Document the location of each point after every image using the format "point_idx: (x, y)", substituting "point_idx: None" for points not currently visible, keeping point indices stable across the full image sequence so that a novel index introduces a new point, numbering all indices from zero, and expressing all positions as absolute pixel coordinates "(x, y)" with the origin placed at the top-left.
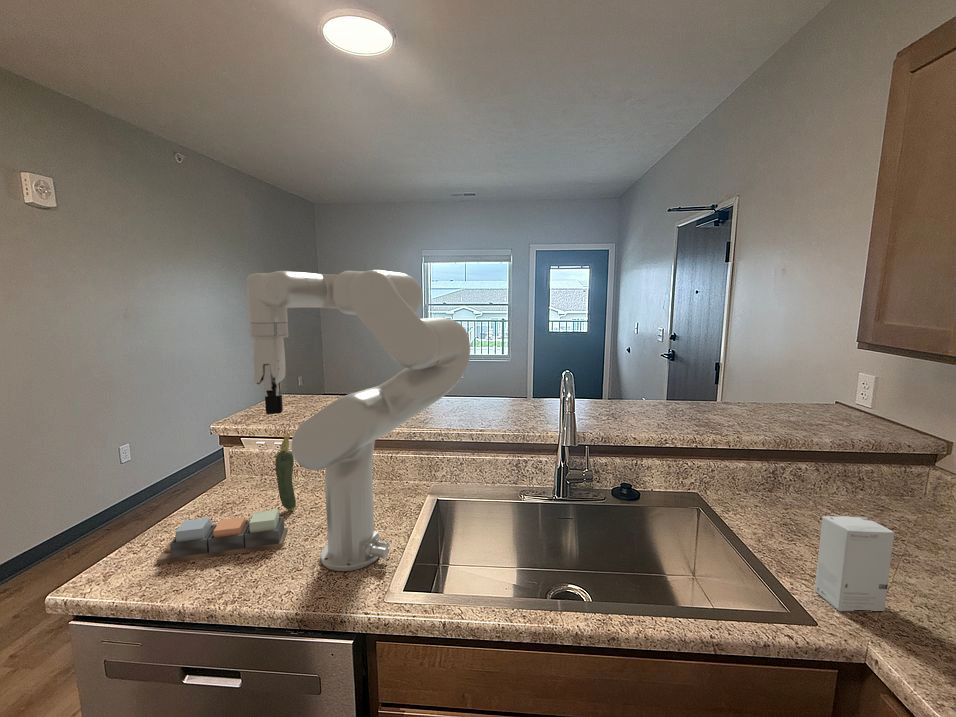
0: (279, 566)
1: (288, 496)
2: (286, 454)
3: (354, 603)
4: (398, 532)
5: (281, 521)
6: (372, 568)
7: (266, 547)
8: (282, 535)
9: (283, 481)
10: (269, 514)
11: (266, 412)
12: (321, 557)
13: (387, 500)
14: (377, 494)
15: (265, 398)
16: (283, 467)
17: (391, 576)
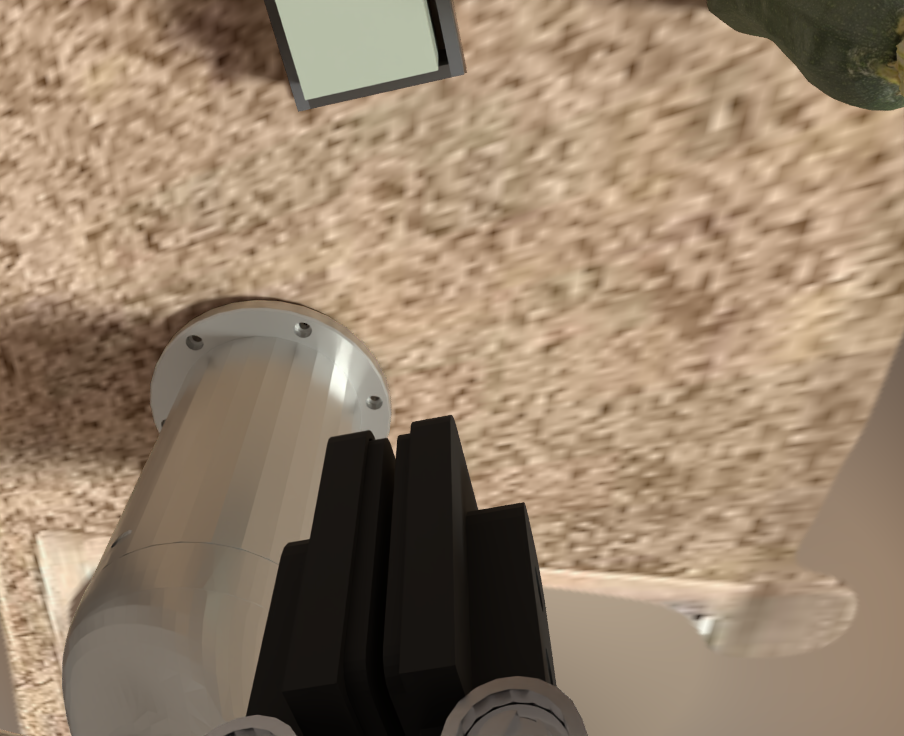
0: (163, 148)
1: (715, 12)
2: (858, 81)
3: (6, 463)
4: None
5: (402, 86)
6: None
7: None
8: None
9: (748, 4)
10: (372, 39)
11: (328, 452)
12: (202, 322)
13: (736, 448)
14: (820, 398)
15: (290, 660)
16: (788, 33)
17: None
